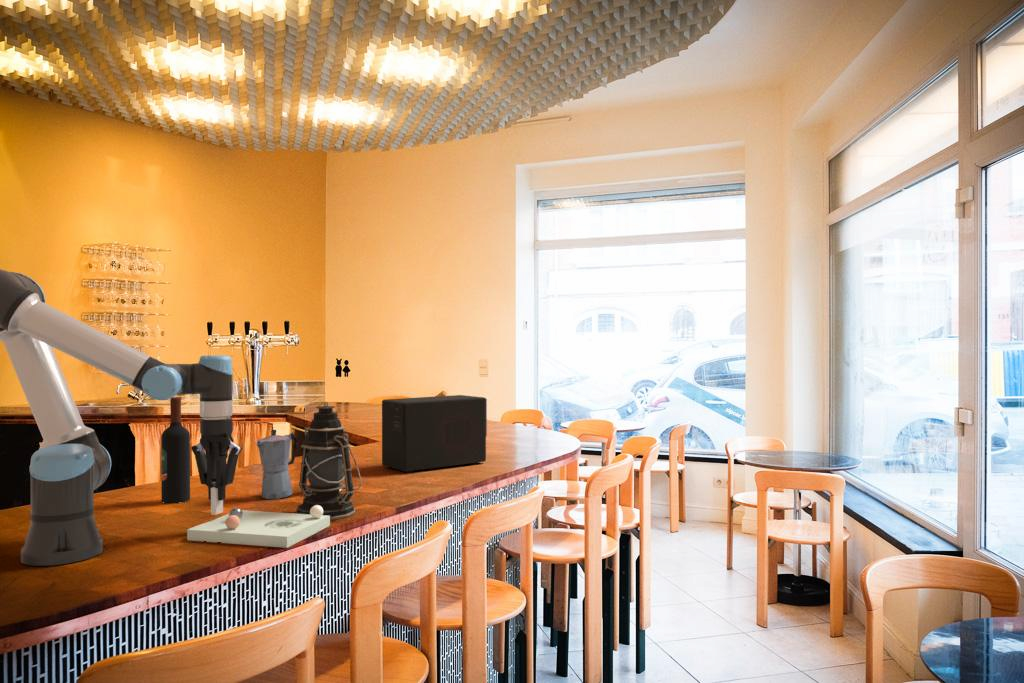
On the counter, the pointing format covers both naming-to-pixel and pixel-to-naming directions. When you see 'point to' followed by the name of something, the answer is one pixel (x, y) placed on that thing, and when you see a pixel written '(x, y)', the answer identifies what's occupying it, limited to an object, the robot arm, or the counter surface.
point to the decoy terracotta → (232, 522)
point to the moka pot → (276, 464)
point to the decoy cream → (316, 511)
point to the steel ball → (236, 512)
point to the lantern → (326, 466)
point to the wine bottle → (175, 458)
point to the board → (260, 529)
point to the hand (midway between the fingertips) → (217, 513)
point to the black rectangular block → (433, 432)
